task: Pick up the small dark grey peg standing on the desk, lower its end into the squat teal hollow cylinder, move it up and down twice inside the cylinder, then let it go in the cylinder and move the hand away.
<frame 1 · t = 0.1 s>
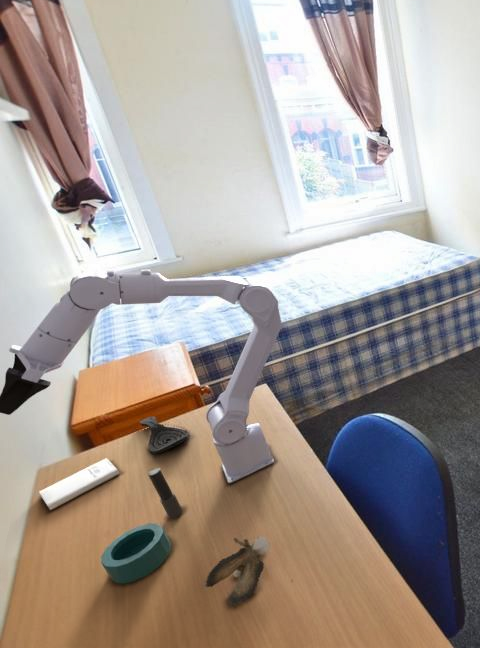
hand: (5, 402, 79), 32 cm above the table, tool tilted 50°, fingers open, 7 cm apart
teal hollow cylinder: (142, 560, 85), on the table
eagle figurine: (246, 578, 80), on the table
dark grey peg: (175, 513, 95), on the table
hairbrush: (162, 436, 121), on the table
hard drive: (82, 485, 106), on the table
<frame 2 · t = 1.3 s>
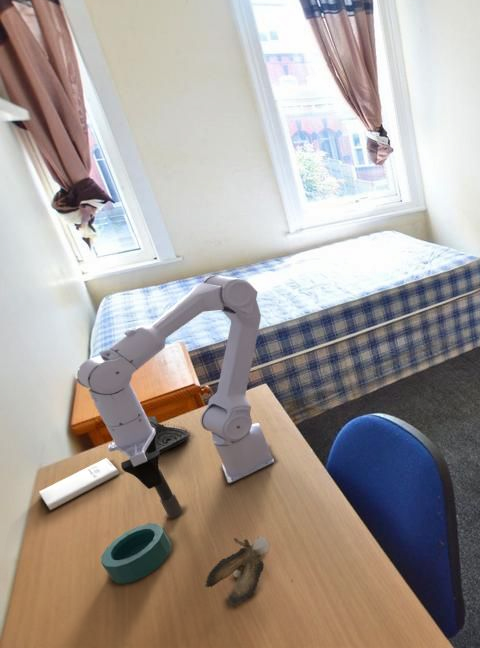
hand: (153, 475, 91), 10 cm above the table, tool pointing down, fingers open, 7 cm apart
nothing on the table moved.
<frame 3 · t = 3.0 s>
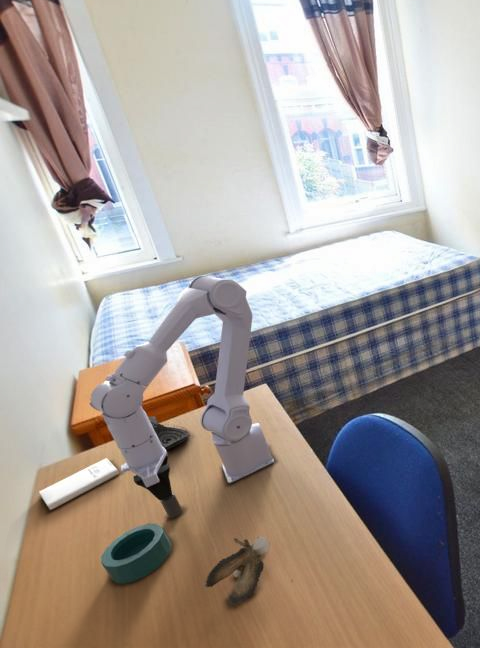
hand: (165, 493, 93), 5 cm above the table, tool pointing down, fingers closed on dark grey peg, 2 cm apart
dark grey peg: (175, 513, 95), on the table, touching gripper
everything else where it was.
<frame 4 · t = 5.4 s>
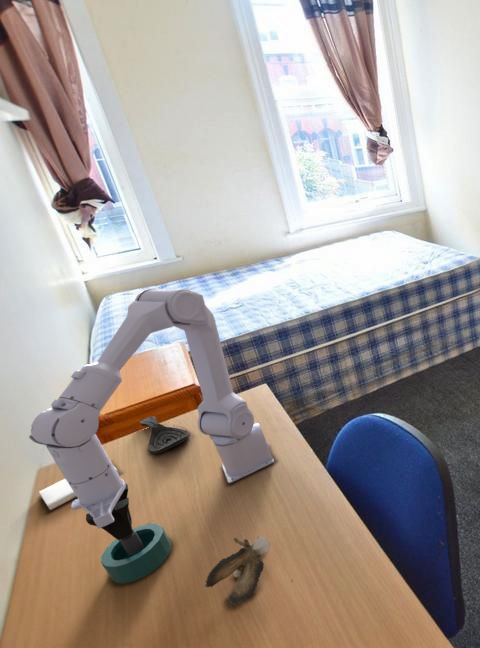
hand: (125, 531, 82), 7 cm above the table, tool pointing down, fingers closed on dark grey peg, 2 cm apart
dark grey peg: (137, 553, 84), point 2 cm above the table, touching gripper
everything else where it was.
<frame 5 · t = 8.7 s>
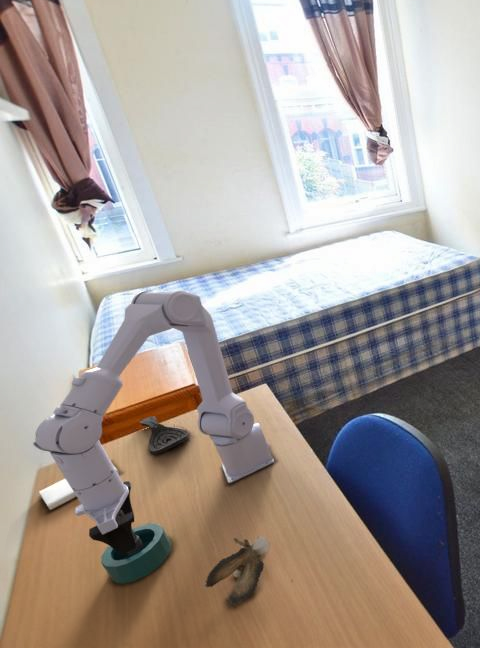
hand: (128, 536, 83), 6 cm above the table, tool pointing down, fingers open, 7 cm apart
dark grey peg: (140, 558, 85), point 1 cm above the table, touching teal hollow cylinder
everything else where it was.
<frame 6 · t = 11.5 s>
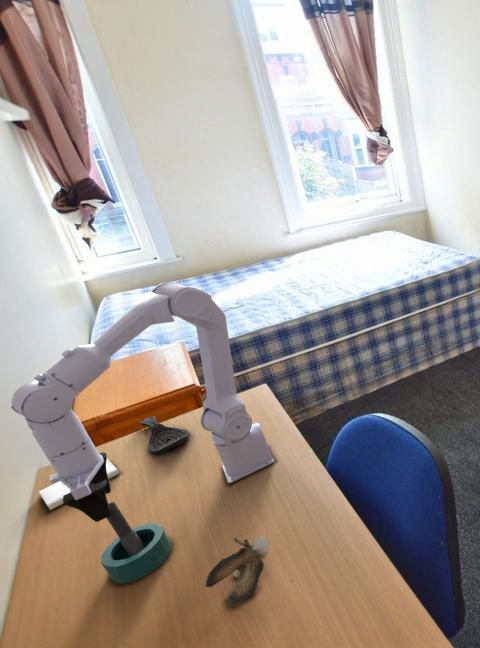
hand: (103, 505, 84), 10 cm above the table, tool pointing down, fingers open, 7 cm apart
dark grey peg: (140, 556, 85), point 1 cm above the table, tilted 35°, touching teal hollow cylinder
everything else where it was.
at the end: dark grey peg 0.2 cm off-centre in the teal hollow cylinder, point 1.3 cm above the teal hollow cylinder's base; the gripper is holding nothing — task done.
